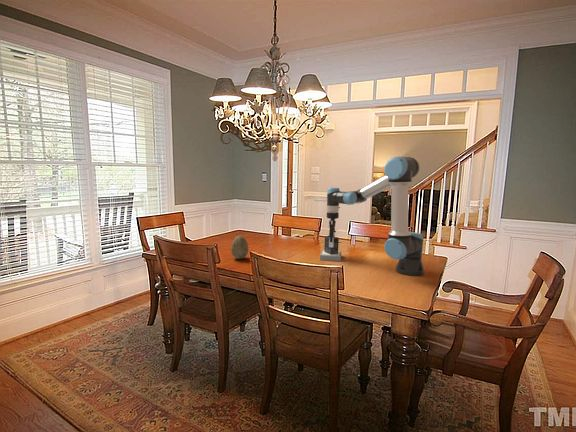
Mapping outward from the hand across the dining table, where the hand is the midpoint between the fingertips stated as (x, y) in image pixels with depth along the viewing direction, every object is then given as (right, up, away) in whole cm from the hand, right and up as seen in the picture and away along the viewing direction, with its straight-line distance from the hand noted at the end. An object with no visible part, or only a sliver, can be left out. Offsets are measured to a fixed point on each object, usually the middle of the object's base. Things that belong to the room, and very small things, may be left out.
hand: (331, 244), depth 215 cm
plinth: (0, -9, +2) cm, 9 cm away
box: (0, -6, +1) cm, 6 cm away
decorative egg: (-59, -9, -5) cm, 59 cm away
